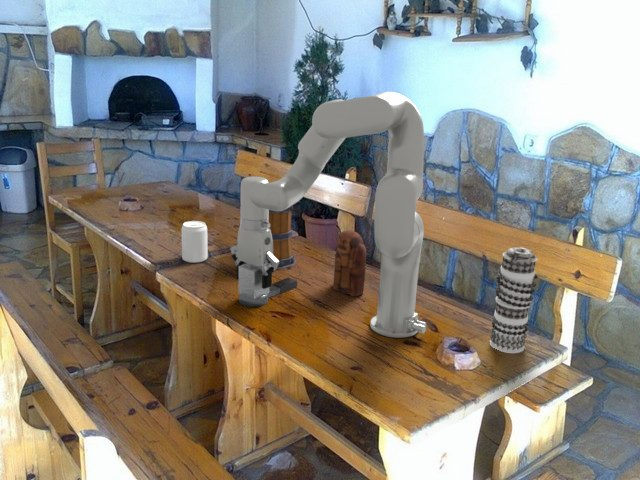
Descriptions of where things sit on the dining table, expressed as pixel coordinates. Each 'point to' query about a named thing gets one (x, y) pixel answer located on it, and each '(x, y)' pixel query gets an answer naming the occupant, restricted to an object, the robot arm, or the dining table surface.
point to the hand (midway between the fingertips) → (253, 282)
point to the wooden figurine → (350, 264)
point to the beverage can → (194, 241)
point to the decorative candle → (513, 300)
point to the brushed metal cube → (251, 281)
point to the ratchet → (273, 290)
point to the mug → (282, 237)
